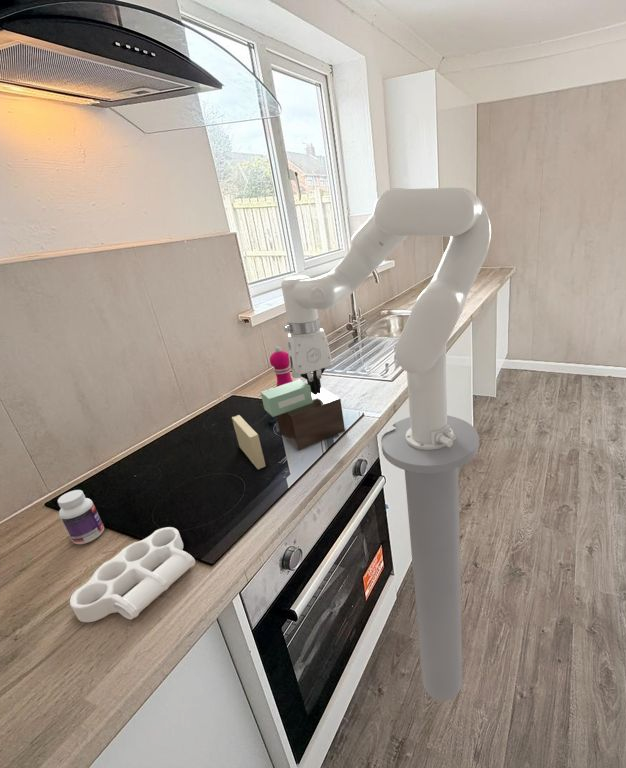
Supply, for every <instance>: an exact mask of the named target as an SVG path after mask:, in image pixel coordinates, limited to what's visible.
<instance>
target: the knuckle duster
mask: <svg viewBox="0 0 626 768" xmlns="http://www.w3.org/2000/svg"><path fill="white" fill-rule="evenodd" d="M183 549H184V542H183V540H182V537H181V534H180V532H179V530H178V529H177V528H175V527H173V526H167V527H166V526H165V527H161V528H158V529H156V530H154V531H153V532H152V533H151V534H150V535H148V536H147V537H145V538H143V539H142V540H139V541H135V542H132V543H131V544H129V545H127V546H126V547H124V548H122V549H121V550H120V552H119V553H118V554H116V555H115V556H114V557H113V558H111V559H109V560H107V561H104V562H103V563H102V564H100V566H99V567H97V569H96V570H94V572H93V574H92V576H91V577H90V578H89V580H88V581H87V582H85V584H83V585H82V586H81V587H78V588H77V589H75V590H74V591H73V592H72V595H71V597H70V599H69V605H70V608H71V609H72V611H73V613H74V614H75V616H76V618H77V619H78V620H79V622H81V623H93V622H96V621H99V620H102V619H104V618H106V617H107V616H109V615H110V614H115V613H119V615H121V616H122V617H124V618H126V619H127V620H129V621H131V620H133V619H135V618H137V617H138V616H139V615H140V613H141V612H143V611H144V610H145V609H146V607H148V606H149V605H150V604H151V603H152V602H154V600H156V599H157V598H158V597H159V596H160V595H161V594H163V593H164V592H165V591H167V590H168V589H170V588H169V587H171V586H172V584H174V583H175V582H176V581H177V580H178V579H179V578H180V577H181V576H183V575H184V574H185V573H186V572H187V571H188V570H190V568H193V566H195V565H196V563H197V562H196V559H195V558H194V557H193V555H191V554H190V553H188V552H187V551H185V550H183Z"/></svg>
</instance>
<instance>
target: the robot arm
mask: <svg viewBox="0 0 626 768" xmlns="http://www.w3.org/2000/svg"><path fill="white" fill-rule="evenodd" d="M373 206H374V207H373V212H372V213H371V215H370V216H369V217H368V218H367V220H366V221H364V222H363V224H362V225H361V226H360V227H359V228H358V229H357V230H356V231H355V232H354V234H353V235H352V236H351V239H350V248H349V250H348V252H347V253H346V254H345V256H344V257H343V258H342V259H341V260H340V262H338V263H337V264H336V266H335V267H333V269H332V270H331V271H329V272H327V273H325V274H323V275H320V276H318V277H315V278H311V277H310V276H308V275H295V276H293V275H292V276H288V277H285V278H284V279H283V280H282V281H281V291H282V296H283V301H284V307H285V312H286V318H287V321H288V322H287V325H286V326H284V327H283V331H284V333H288V334H287V353H288V354H289V362H290V363H289V365H290V368H291V371H292V372H291V377H293V378H294V379H299V378H300V379H301V378H303V379H305V380H306V383H307V384H308V385H310V389H311V392H312V393H313V394H315V395H316V394H319V393H321V391H320V389H321V387H322V384H321V383H322V382H321V379H322V376H323V373H324V372H325V371H326V370H328V369H330V368H331V366H332V363H333V360H332V359H333V358H332V354H331V349H330V346H329V342H328V338H327V335H326V332H325V330H324V329H323V328H321V326H320V319H319V313H318V312H319V311H320V310H321V311H325V310H326V311H327V310H330V309H332V308H334V307H335V306H337V305H338V304H340V303H341V302H343V301H344V300H346V299H348V297H350V296H351V295H352V294H353V293H354V292H355V291H356V290H357V289H358V288H359V287H360V286H361V285H362V284H363V283H364V282H365V281H366V280H367V279H368V278H369V276H370V275H371V274H373V272H374V271H376V270H377V269H378V268H379V266H381V264H382V263H383V262H384V261H385V260H386V259H387V258H388V257H389V256H390V255H391V254H392V253H393V251H394V250H396V249H397V248H398V247H399V246H400V245H401V244H402V243H403V242H404V241H405V240H406V239H407V238H408V237H443V238H444V237H445V238H446V237H450V238H449V241H448V244H447V247H446V249H445V251H444V253H443V254H442V257H441V259H440V263H439V264H438V266H437V268H436V271H435V273H434V274H433V277H432V278H431V280H430V282H429V283H428V284H427V286H426V287H425V288H424V289H423V290H422V291H421V293H419V295H418V297H417V298H416V300H415V302H414V304H413V305H412V306H413V307H412V309H411V311H410V313H409V316H408V317H407V320H406V322H405V325H404V327H403V329H402V331H401V333H400V336H399V338H398V339H397V342H396V344H395V345H396V346H395V358H396V361H397V364H398V365H399V366H400V368H401V369H402V370H404V371H405V372H406V379H407V380H406V381H407V395H408V409H409V410H408V411H409V417H410V425H411V428H409V429H408V430H407V432H406V435H405V437H406V441H407V443H408V444H409V445H410V446H412V447H414V448H417V449H421V450H436V449H440V448H443V447H445V446H447V447H451V446H452V445H453V441H454V440H455V439H456V436H455V435H454V433H453V431H452V429H451V428H450V425H448V424H447V415H448V409H447V408H448V407H447V406H448V404H447V403H448V401H447V343H448V341H449V339H450V337H451V335H452V333H453V331H454V329H455V327H456V325H457V323H458V321H459V319H460V317H461V315H462V312H463V310H464V307H465V303H466V300H467V299H468V296H469V293H470V292H471V290H472V287H473V285H474V283H475V281H476V279H477V277H478V274H479V273H480V271H481V269H482V267H483V264H484V263H485V260H486V258H487V255H488V252H489V248H490V244H491V238H492V228H491V227H492V226H491V221H490V216H489V214H488V212H487V209H486V207H485V205H484V204H483V201H481V200H480V198H479V197H478V196H477V194H475V192H473V191H472V190H469V189H468V188H465V187H431V188H430V187H428V188H398V187H394V188H389V189H386V190H385V191H383V192H382V193H381V194H380V195H379V196H378V197H377V199H376V200H375V203H374V205H373ZM318 310H319V311H318Z"/></svg>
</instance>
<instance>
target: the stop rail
mask: <svg viewBox="0 0 626 768" xmlns="http://www.w3.org/2000/svg"><path fill="white" fill-rule="evenodd" d="M231 420H232V424H233V428H234V431H235V435H236V439H237V442H238V447H239V448H240V450H241V451H242V452H243V453H244V454H245V456H246V457H247V458H248V459H249V461H250V462H251V463H252V464H253V466H254V467H255V468H256V469H257V470H261V469H263V468H266V466H267V465H266V461H265V457H264V453H263V449H262V445H261V441H260V436H259V434H258V433H257V432H256V431H255V430H254V428H252V426H250V425H249V423H248V422H247V421H246V420H245V419H244V418H243V417H242V416H241V415H240V414H238V415H237V414H236V415H235V416H232V417H231Z"/></svg>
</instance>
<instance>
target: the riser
mask: <svg viewBox="0 0 626 768" xmlns="http://www.w3.org/2000/svg"><path fill="white" fill-rule="evenodd" d="M320 391H321V393H319V394H316V395H315V394H313V393H312V392H311V394H312V400H313V403H311V404H308V405H305V406H303V407H300V408H297V409H294V410H291V411H288V412H286V413H283V414H280V415H277V416H275V417H276V420H277V426H278V430H279V434H280V435H281V436H282V437H283V438H284V439H286V440H287V442H289V443H290V445H292V446H293V447H294V448H295V449H296V451H301V450H303V449H306V448H308V447H310V446H313V445H315V444H317V443H320V442H322V441H325V440H327V439H329V438H332V437H334V436H336V435H339V434H341V433H344V432H345V431H346V428H345V427H346V426H345V420H344V414H343V406H342V400H341V398H340V397H339V396H338V395H335V394H334V393H332V392H330V391H329V390H327V389H326V388H324V387H322V386H321V389H320Z"/></svg>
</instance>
